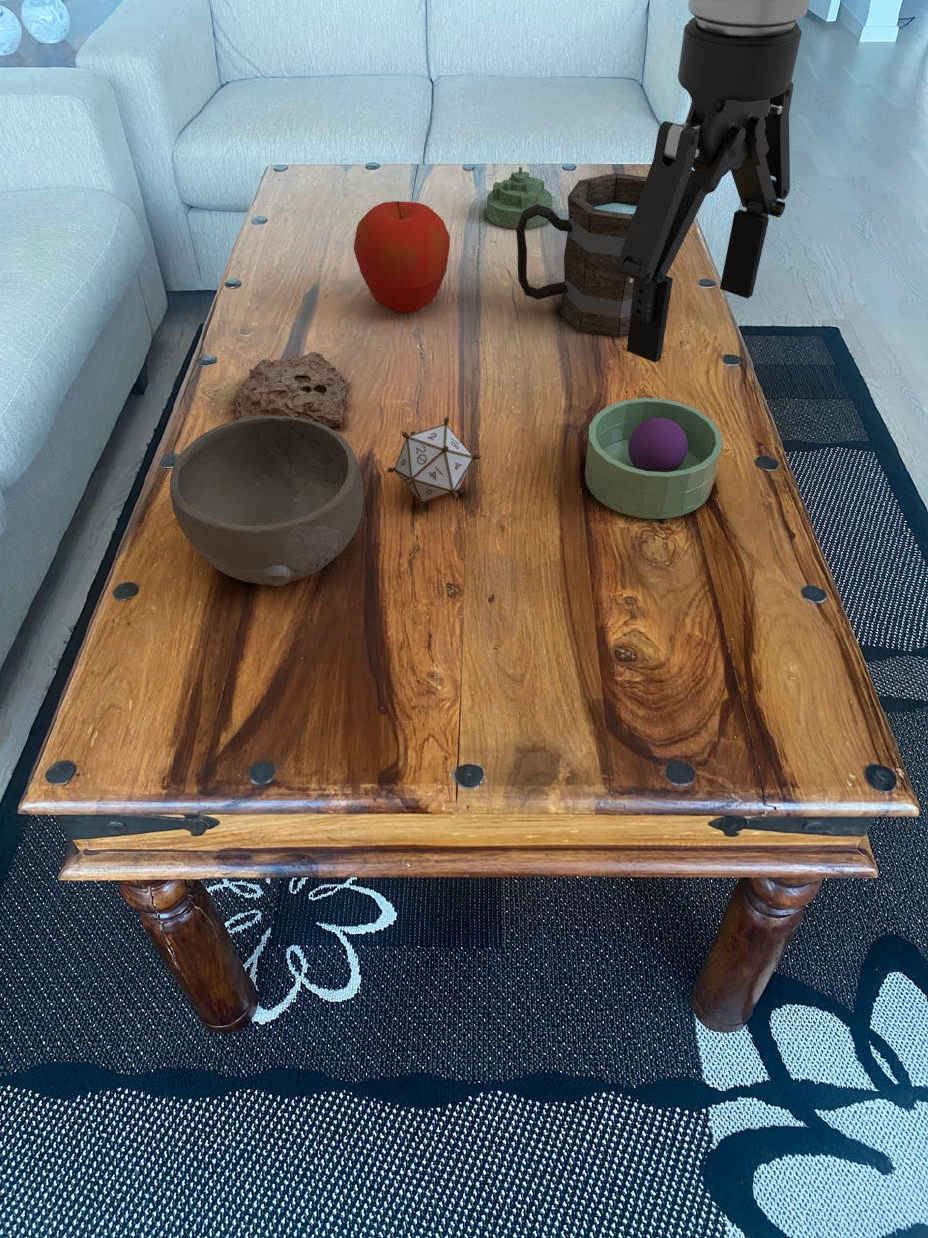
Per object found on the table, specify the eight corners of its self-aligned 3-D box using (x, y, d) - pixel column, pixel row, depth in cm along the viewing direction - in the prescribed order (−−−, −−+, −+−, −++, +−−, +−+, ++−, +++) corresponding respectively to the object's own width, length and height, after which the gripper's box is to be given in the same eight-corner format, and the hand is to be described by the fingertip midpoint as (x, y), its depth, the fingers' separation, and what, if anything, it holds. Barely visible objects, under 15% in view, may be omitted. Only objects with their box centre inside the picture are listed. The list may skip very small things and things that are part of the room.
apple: (378, 338, 118) (368, 229, 107) (347, 297, 125) (335, 191, 115) (466, 317, 121) (464, 209, 111) (431, 278, 129) (426, 174, 118)
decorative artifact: (565, 215, 142) (521, 195, 147) (568, 168, 137) (523, 149, 142) (516, 234, 138) (473, 213, 143) (518, 186, 132) (473, 166, 138)
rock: (344, 433, 104) (340, 405, 101) (227, 433, 104) (220, 405, 101) (357, 362, 114) (354, 334, 111) (250, 363, 114) (244, 335, 111)
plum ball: (687, 475, 98) (706, 426, 93) (657, 495, 94) (675, 444, 90) (641, 449, 100) (657, 400, 96) (610, 467, 96) (626, 417, 92)
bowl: (325, 627, 83) (311, 545, 76) (154, 585, 87) (125, 503, 80) (395, 510, 94) (388, 428, 87) (240, 477, 98) (221, 397, 91)
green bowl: (736, 474, 98) (747, 431, 94) (665, 537, 91) (674, 494, 87) (632, 425, 104) (638, 383, 100) (558, 481, 97) (562, 438, 93)
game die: (451, 528, 98) (479, 502, 88) (374, 506, 96) (394, 477, 86) (467, 451, 100) (496, 417, 90) (392, 428, 98) (414, 391, 88)
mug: (652, 284, 127) (668, 171, 116) (671, 335, 117) (691, 217, 106) (509, 288, 126) (512, 175, 115) (517, 340, 117) (521, 222, 106)
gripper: (788, -25, 68) (732, 256, 83) (580, 52, 55) (560, 367, 71) (885, -10, 64) (808, 281, 79) (686, 76, 52) (641, 403, 67)
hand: (691, 322), depth 75 cm, fingers open, 13 cm apart
